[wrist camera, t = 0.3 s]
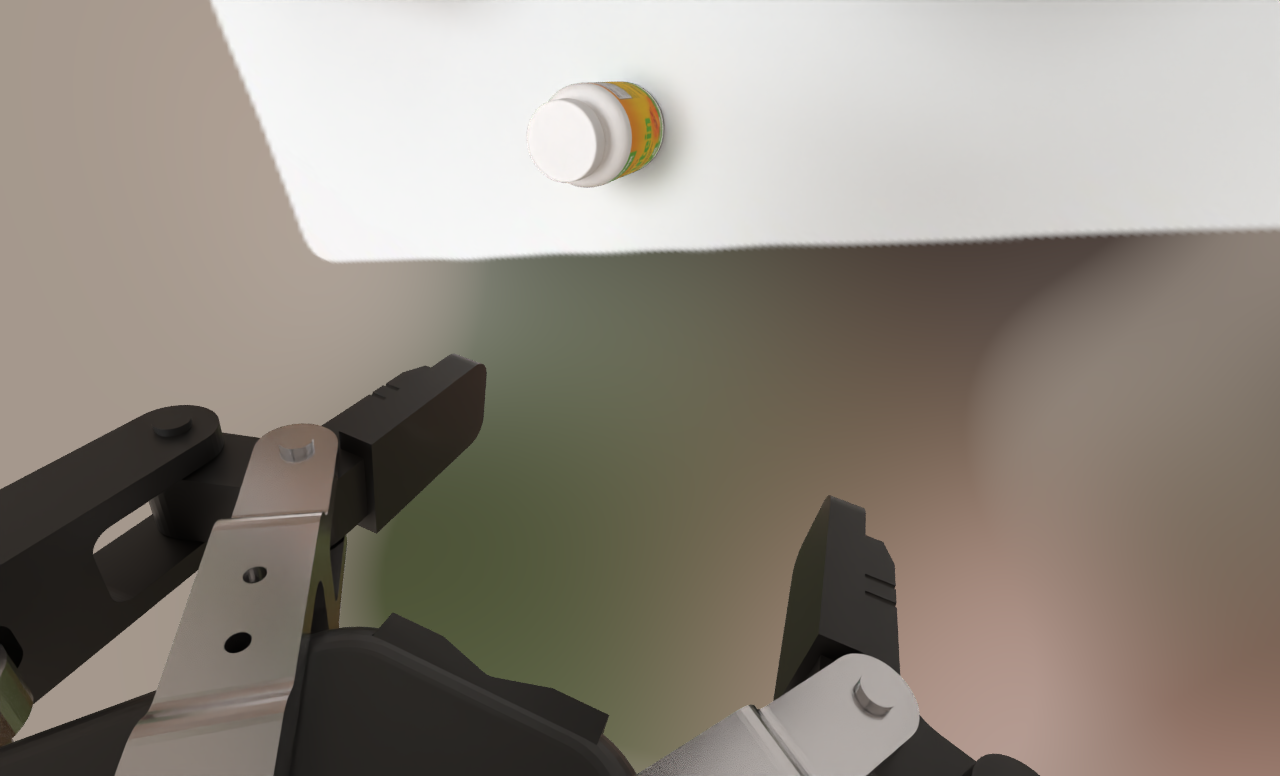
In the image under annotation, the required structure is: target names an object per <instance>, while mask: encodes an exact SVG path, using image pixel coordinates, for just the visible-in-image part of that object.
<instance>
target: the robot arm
mask: <svg viewBox="0 0 1280 776" xmlns="http://www.w3.org/2000/svg"><path fill="white" fill-rule="evenodd" d="M486 374H487V372H486V367H485V366H484V365H483V364H481V363H478V362H475V361H473V360H470V359H467V358H465V357H462V356H460V355H457V354H451V355H449V356H447V357H446V358H444V359H443V360H441V361H440V362H439V363H437V364H436V365H434V366H433V367H431V368H430V367H428V366H423V367H419V368H417V369H413V370H409V371H406V372H403V373H402V374H400V375H398V376H397V377H395V378H394V379H392V380H391V381H389V382H388V383H387V384H386V386H382V387H380V388H379V389H377V390H375V391H374V392H373V394H372V395H368V396H366V397H365V398H363V399H362V400H360V401H359V402H357V403H356V404H354V405H353V406H351V407H350V408H348V409H346V410H345V411H344V412H342V413H340V414H339V415H337V416H336V417H334V418H333V419H331V420H330V421H329V422H327V423H325V424H324V425H322V426H319V425H314V424H292V425H287V426H283V427H280V428H277V429H275V430H272V431H270V432H268V433H267V434H265V435H264V436H262V437H261V438H256V437H249V436H242V435H235V434H228V433H222V431H221V427H220V423H219V419H218V416H217V415H216V414H215V413H214V412H213V411H211V410H209V409H207V408H204V407H200V406H193V405H178V406H170V407H164V408H160V409H157V410H154V411H151V412H148V413H146V414H144V415H142V416H140V417H138V418H136V419H134V420H132V421H130V422H128V423H126V424H125V425H123V426H121V427H119V428H117V429H115V430H113V431H111V432H109V433H107V434H105V435H104V436H102V437H100V438H98V439H96V440H94V441H92V442H90V443H88V444H86V445H85V446H82V447H81V448H79V449H77V450H75V451H73V452H71V453H69V454H67V455H65V456H63V457H61V458H60V459H58V460H56V461H54V462H52V463H50V464H48V465H46V466H44V467H42V468H40V469H38V470H37V471H35V472H33V473H31V474H29V475H27V476H25V477H23V478H21V479H20V480H18V481H16V482H14V483H12V484H10V485H8V486H6V487H4V488H2V489H0V776H1040V775H1038V774H1037V773H1036V772H1035V771H1034V770H1032V769H1031V768H1029V767H1028V766H1027V765H1025V764H1023V763H1022V762H1020V761H1018V760H1016V759H1014V758H1011V757H1009V756H1005V755H1001V754H988V755H985V756H983V757H981V758H980V759H978V760H977V761H975V760H973V759H972V758H971V757H969V756H968V755H967V754H965V753H964V752H963V751H961V750H960V749H959V748H957V747H956V746H955V745H953V744H952V743H951V742H949V741H948V740H947V739H945V738H944V737H942V736H941V735H940V734H939V733H937V732H936V731H935V730H934V729H933V728H932V727H930V726H929V725H928V724H927V723H926V722H925V721H924V720H923V718H922V717H921V716H920V715H919V709H918V704H917V702H916V699H915V697H914V695H913V693H912V691H911V689H910V688H909V686H908V685H907V683H906V682H905V681H904V680H903V679H902V677H901V676H900V663H899V644H898V625H897V608H896V607H895V605H896V590H895V586H896V584H895V565H894V562H893V561H892V559H891V557H890V555H889V553H888V551H887V549H886V547H885V545H884V543H883V542H882V541H879V540H876V539H874V538H871V537H869V536H866V535H865V521H866V518H865V516H866V515H865V514H866V513H865V509H864V508H862V507H859V506H857V505H854V504H851V503H849V502H846V501H843V500H841V499H838V498H835V497H833V496H830V495H829V496H827V498H826V499H825V500H824V502H823V504H822V506H821V508H820V510H819V512H818V514H817V516H816V518H815V520H814V522H813V524H812V526H811V528H810V530H809V532H808V534H807V536H806V538H805V540H804V542H803V544H802V546H801V549H800V551H799V554H798V556H797V559H796V562H795V566H794V570H793V574H792V581H791V587H790V594H789V601H788V607H787V614H786V620H785V627H784V634H783V640H782V647H781V654H780V660H779V667H778V673H777V680H776V686H775V694H774V700H773V702H772V703H770V704H769V705H767V706H766V707H764V708H762V709H759V710H758V709H757V708H756V707H755V706H754V705H748V706H745V707H743V708H741V709H739V710H738V711H736V712H734V713H733V714H731V715H730V716H728V717H727V718H725V719H723V720H722V721H720V722H719V723H717V724H715V725H714V726H712V727H711V728H710V729H708V730H706V731H704V732H703V733H701V734H700V735H698V736H697V737H695V738H694V739H692V740H690V741H689V742H687V743H686V744H684V745H682V746H681V747H679V748H678V749H676V750H675V751H673V752H671V753H670V754H668V755H667V756H665V757H664V758H662V759H660V760H659V761H657V762H656V763H654V764H653V765H651V766H650V767H648V768H646V769H645V770H643V771H641V772H640V773H638V774H636V772H635V771H634V769H633V767H632V766H631V764H630V763H629V762H628V760H627V759H626V757H625V756H624V755H623V754H622V752H621V751H620V750H619V749H618V748H617V747H616V746H615V745H614V743H612V742H611V741H610V740H609V739H608V738H607V737H606V736H604V735H603V733H604V729H605V726H606V723H607V720H608V717H609V715H608V714H606V713H603V712H601V711H599V710H597V709H595V708H593V707H591V706H589V705H586V704H584V703H582V702H580V701H578V700H576V699H574V698H572V697H570V696H568V695H565V694H563V693H561V692H559V691H557V690H555V689H553V688H548V687H542V686H537V685H532V684H526V683H521V682H516V681H510V680H505V679H500V678H494V677H491V676H489V675H486V674H485V673H484V672H483V671H481V670H480V669H479V668H478V667H477V666H476V665H475V664H473V663H472V662H471V661H470V660H469V659H468V658H467V657H466V656H465V655H463V654H462V653H461V652H460V651H459V650H458V649H457V648H456V647H454V646H453V645H452V644H451V643H450V642H449V641H448V640H447V639H445V638H444V637H443V636H441V635H439V634H437V633H435V632H433V631H431V630H429V629H427V628H424V627H422V626H420V625H418V624H416V623H414V622H412V621H410V620H407V619H405V618H403V617H401V616H399V615H397V614H395V613H392V614H391V615H390V616H389V618H388V619H387V620H386V621H385V622H384V623H383V624H382V626H381V627H380V628H372V627H343V628H339V619H340V608H341V598H342V588H343V579H344V570H345V560H346V551H347V533H348V532H349V531H351V530H352V529H353V528H354V527H355V526H356V525H359V526H361V527H363V528H366V529H368V530H370V531H372V532H374V533H378V532H379V531H380V530H381V529H382V528H383V527H384V526H385V525H386V524H387V523H388V522H389V521H390V520H391V519H393V518H394V517H395V516H396V515H397V514H398V513H399V512H400V511H401V510H402V509H403V508H404V507H405V506H406V505H407V504H408V503H409V502H410V501H412V500H413V499H414V498H415V497H416V496H417V495H418V494H419V493H420V492H421V491H422V490H423V489H424V488H425V487H426V486H427V485H428V484H430V483H431V482H432V481H433V480H434V479H435V478H436V477H437V476H438V475H439V474H440V473H441V472H442V471H443V470H444V469H445V468H446V467H447V466H449V465H450V464H451V463H452V462H453V461H454V460H455V459H456V458H457V457H458V456H459V455H460V454H461V453H462V452H463V451H464V450H465V449H467V448H468V447H469V446H470V445H471V444H472V443H473V441H474V440H475V439H476V437H477V435H478V433H479V431H480V429H481V426H482V423H483V417H484V403H485V388H486ZM148 501H149V504H150V507H151V510H152V513H153V514H152V515H151V516H149V517H148V518H146V519H145V520H143V521H142V522H140V523H139V524H137V525H136V526H134V527H133V528H131V529H130V530H128V531H127V532H126V533H124V534H123V535H121V536H120V537H118V538H117V539H115V540H114V541H112V542H111V543H109V544H108V545H107V546H105V547H103V548H102V549H100V550H99V551H98V552H96V553H94V554H93V548H94V545H95V543H96V541H97V539H98V537H100V535H101V534H102V533H103V532H104V531H105V530H106V529H107V528H109V527H110V526H112V525H113V524H115V523H116V522H118V521H119V520H120V519H122V518H124V517H125V516H127V515H128V514H130V513H131V512H133V511H135V510H136V509H138V508H139V507H141V506H142V505H144V504H145V503H147V502H148ZM197 570H198V572H197V575H196V578H195V581H194V583H193V586H192V589H191V593H190V595H189V598H188V601H187V604H186V607H185V610H184V613H183V615H182V618H181V621H180V624H179V627H178V630H177V633H176V636H175V639H174V641H173V644H172V647H171V650H170V653H169V656H168V659H167V662H166V665H165V668H164V670H163V673H162V677H161V679H160V682H159V685H158V688H157V690H156V691H153V692H150V693H148V694H145V695H142V696H139V697H136V698H134V699H131V700H128V701H125V702H123V703H120V704H117V705H115V706H112V707H109V708H106V709H103V710H101V711H98V712H95V713H92V714H90V715H87V716H84V717H81V718H79V719H76V720H73V721H70V722H68V723H65V724H62V725H59V726H57V727H54V728H51V729H49V730H46V731H43V732H40V733H37V734H35V735H32V736H29V737H26V738H24V739H21V740H18V741H15V742H14V741H13V739H12V738H13V737H14V736H15V735H16V734H17V733H18V732H19V730H20V729H21V728H22V727H23V725H24V724H25V722H26V721H27V719H28V717H29V715H30V713H31V710H32V707H33V704H34V703H35V702H37V701H38V700H39V699H40V698H41V697H43V696H44V695H45V694H46V693H48V692H49V691H50V690H51V689H52V688H54V687H55V686H56V685H57V684H59V683H60V682H61V681H62V680H63V679H65V678H66V677H67V676H69V675H70V674H71V673H72V672H73V671H75V670H76V669H77V668H78V667H79V666H81V665H82V664H83V663H84V662H86V661H87V660H88V659H89V658H91V657H92V656H93V655H94V654H95V653H97V652H98V651H99V650H100V649H102V648H103V647H104V646H105V645H106V644H108V643H109V642H110V641H111V640H113V639H114V638H115V637H116V636H118V635H119V634H120V633H121V632H122V631H124V630H125V629H126V628H127V627H129V626H130V625H131V624H132V623H134V622H135V621H136V620H137V619H138V618H140V617H141V616H142V615H143V614H145V613H146V612H147V611H148V610H149V609H151V608H152V607H153V606H154V605H155V604H157V603H158V602H159V601H160V600H161V599H163V598H164V597H165V596H166V595H168V594H169V593H170V592H172V591H173V590H174V589H175V588H176V587H178V586H179V585H180V584H181V583H182V582H184V581H185V580H186V579H187V578H189V577H190V576H191V575H192V574H193V573H195V572H196V571H197Z"/></svg>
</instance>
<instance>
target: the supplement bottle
mask: <svg viewBox="0 0 1280 776" xmlns="http://www.w3.org/2000/svg"><path fill="white" fill-rule="evenodd" d="M663 130H664V127H663V118H662V114H661V111H660V109H659V106H658V104H657V103H656V101H655V100H654V98H653V97H652V96H651V95H650V94H649V93H648V92H647V91H646V90H644V89H643V88H641V87H640V86H638V85H636V84H633V83H629V82H596V83H577V84H572V85H569V86H566V87H564V88H562V89H560V90H559V91H558V92H556V93H555V94H554V95H553V96H552V97H551V98H550V100H549V101H548V102H546V103H544V104H543V105H541V106H540V107H539V108H538V109H537V110H536V111H535V112H534V114H533V115H532V117H531V120H530V122H529V125H528V129H527V145H528V150H529V153H530V156H531V158H532V160H533V162H534V164H535V165H536V167H537V168H538V169H539V170H540V171H541V172H542V173H543V174H544V175H545V176H547V177H548V178H550V179H552V180H554V181H557V182H562V183H569V184H572V185H574V186H578V187H587V188H588V187H597V186H601V185H604V184H606V183H609V182H611V181H613V180H615V179H618V178H620V177H623V176H625V175H628V174H630V173H633V172H635V171H637V170H639V169H641V168H643V167H645V166H646V165H647V164H649V163H650V162H651V161H652V160H653V158H654V157H655V156H656V154H657V152H658V151H659V148H660V146H661V143H662V139H663Z"/></svg>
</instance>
